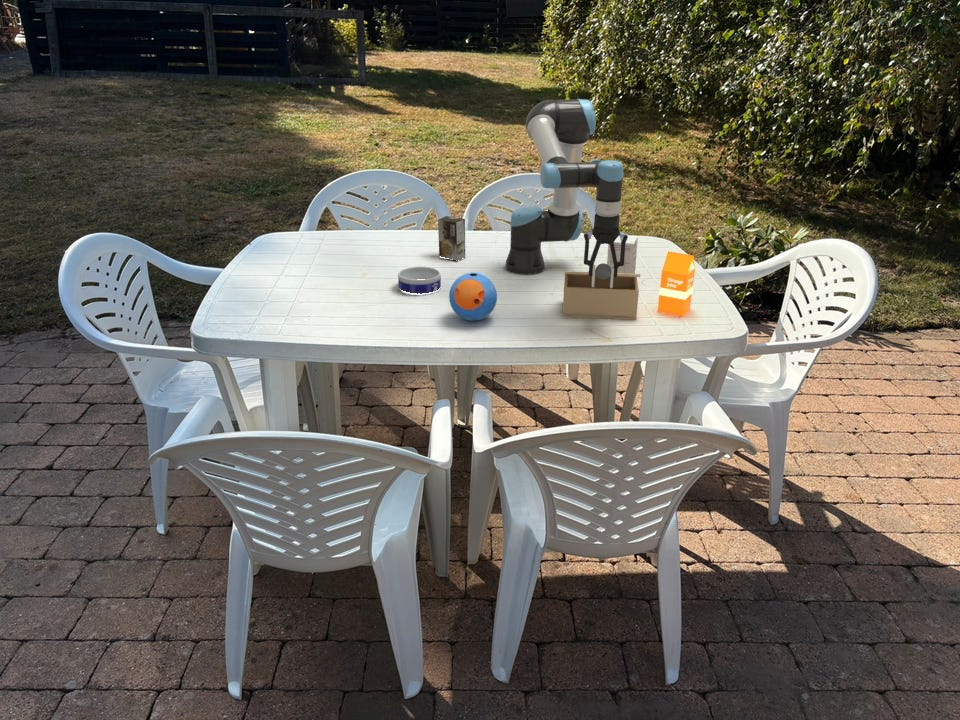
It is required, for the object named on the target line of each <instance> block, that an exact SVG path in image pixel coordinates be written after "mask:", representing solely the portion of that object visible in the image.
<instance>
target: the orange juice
mask: <svg viewBox="0 0 960 720" xmlns="http://www.w3.org/2000/svg"><path fill="white" fill-rule="evenodd" d="M695 265H696V264H695V258H694V255H691V254H685V253H681V252H673V251H669V250H668V251H667V253H666V256H665V260H664V263H663V266H662V270H661V276H660V284H659V286H660V287H659V293H658V295H659V296H658V304H657V312H659V313H664V314H668V315H671V316H676V317H684V316H685V315H686V314H687V313H688V312H689V311H690V310H691V305H692V296H693V290H694V281H695V279H694V278H695V273H696V267H695Z"/></svg>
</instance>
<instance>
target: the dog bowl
mask: <svg viewBox="0 0 960 720" xmlns="http://www.w3.org/2000/svg"><path fill="white" fill-rule="evenodd" d="M441 275H442V273H441V271H440V270H439V269H436V268H434V267H430V266H411V267H406V268H403V269H401V270H399V271H398V273H397V279H398V280H397V282H398V289H399V288H400V289H401V290H403V291H406V292H410V293H417V294H418V293H420V294H422V293H429V292H433V291H436V290H438V289H439V288H440V287H441V286H442V285H441V283H442V281H441V280H442V276H441ZM417 279H425V280H417ZM440 289H441V288H440Z"/></svg>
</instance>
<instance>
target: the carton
mask: <svg viewBox="0 0 960 720" xmlns="http://www.w3.org/2000/svg"><path fill="white" fill-rule="evenodd" d="M610 277H611V276H609V277H608V278H607V279H599V278H598V277H597V276H596V275H595V282H594V287H592V276H589V275H578V274H565V273H564V283H563V299H562V301H563V302H562V317H570V316H571V317H573V318H574V317H575V318H576V317H577V318H590V317H594V318H593V319H596V318H597V319H611V318H615V319H614V320H634V321H635V320H637V313H638V303H639V295H640V294H639V293H640V290H639V289H640V288H639V284H638V277H625V276H617V277H613V288H610Z"/></svg>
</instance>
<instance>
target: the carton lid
mask: <svg viewBox="0 0 960 720" xmlns="http://www.w3.org/2000/svg"><path fill="white" fill-rule="evenodd" d="M565 274H578V275H589V271H576V270H565V271H564V275H565ZM595 275H596V276H597V277H598V278H599V279H607V278H608V277H609V276H611V268H610V266H609V265H607V263H605V262H604V263H599V264H598V265H596V266H595ZM617 276H625V277H637V278H640V277H641V274H639V273H635V274H627V273H617Z"/></svg>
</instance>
